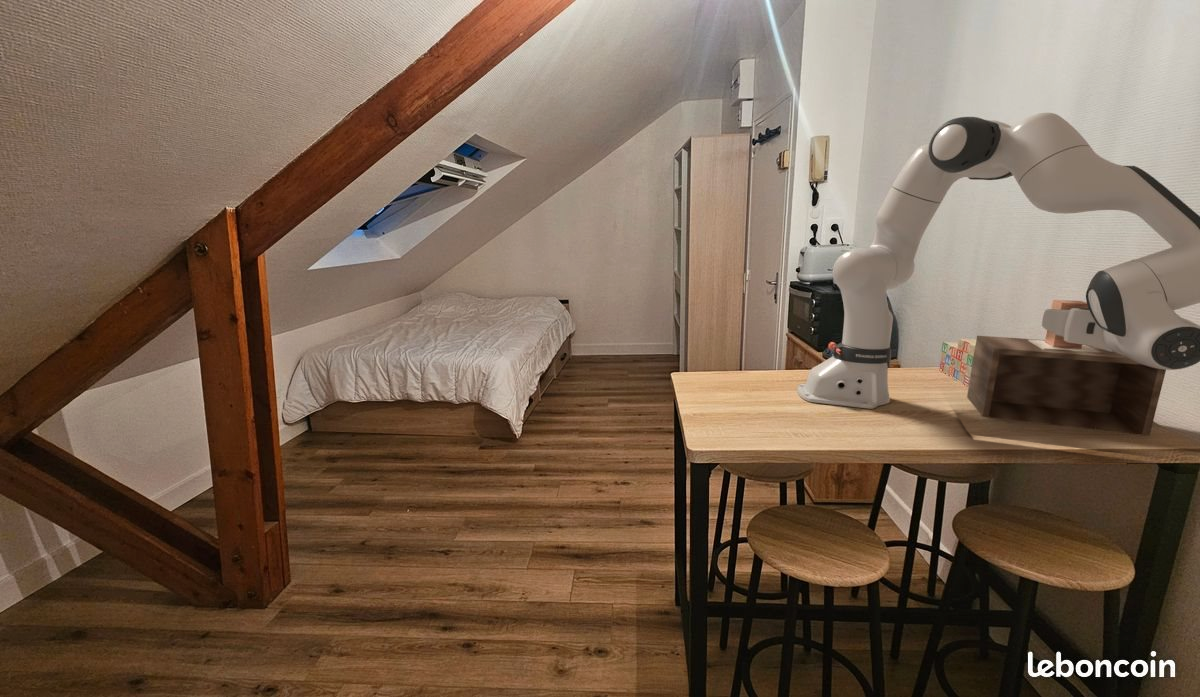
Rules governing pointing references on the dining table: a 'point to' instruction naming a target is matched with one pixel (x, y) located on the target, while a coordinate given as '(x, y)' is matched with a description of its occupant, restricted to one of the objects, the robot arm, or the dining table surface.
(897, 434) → the dining table surface
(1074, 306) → the terracotta block
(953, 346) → the stack of blocks
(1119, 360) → the cubby
